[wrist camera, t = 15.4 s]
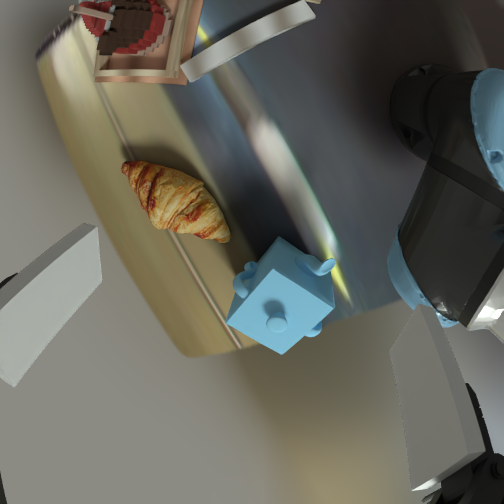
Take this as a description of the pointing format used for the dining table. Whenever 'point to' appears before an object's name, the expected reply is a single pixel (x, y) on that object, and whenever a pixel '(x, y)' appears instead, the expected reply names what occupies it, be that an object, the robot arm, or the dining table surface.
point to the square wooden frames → (182, 44)
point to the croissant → (176, 201)
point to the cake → (126, 25)
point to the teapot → (282, 296)
